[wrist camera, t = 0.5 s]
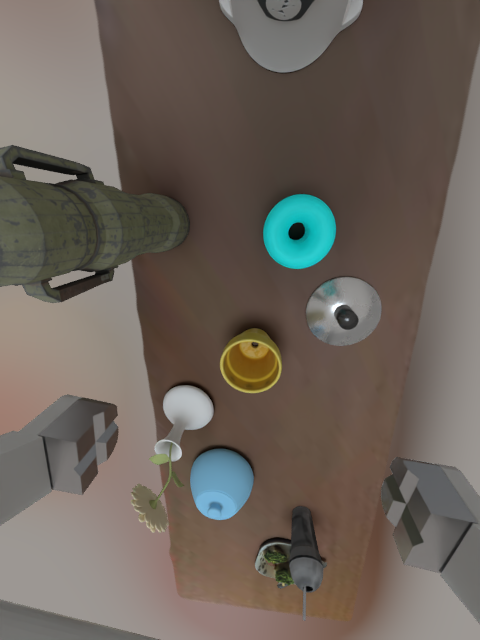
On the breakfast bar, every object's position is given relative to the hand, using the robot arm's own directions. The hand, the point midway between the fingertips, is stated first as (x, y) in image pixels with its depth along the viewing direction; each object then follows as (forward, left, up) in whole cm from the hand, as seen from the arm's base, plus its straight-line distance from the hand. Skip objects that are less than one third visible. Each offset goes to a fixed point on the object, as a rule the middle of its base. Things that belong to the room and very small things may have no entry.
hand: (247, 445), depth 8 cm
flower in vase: (+35, -13, -44) cm, 58 cm away
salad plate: (+81, +17, -44) cm, 94 cm away
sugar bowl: (+52, -4, -44) cm, 69 cm away
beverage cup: (+62, +17, -44) cm, 78 cm away
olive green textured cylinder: (-3, -19, -44) cm, 48 cm away
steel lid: (+8, +14, -44) cm, 47 cm away
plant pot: (+17, -1, -44) cm, 47 cm away
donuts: (-5, +3, -44) cm, 44 cm away
